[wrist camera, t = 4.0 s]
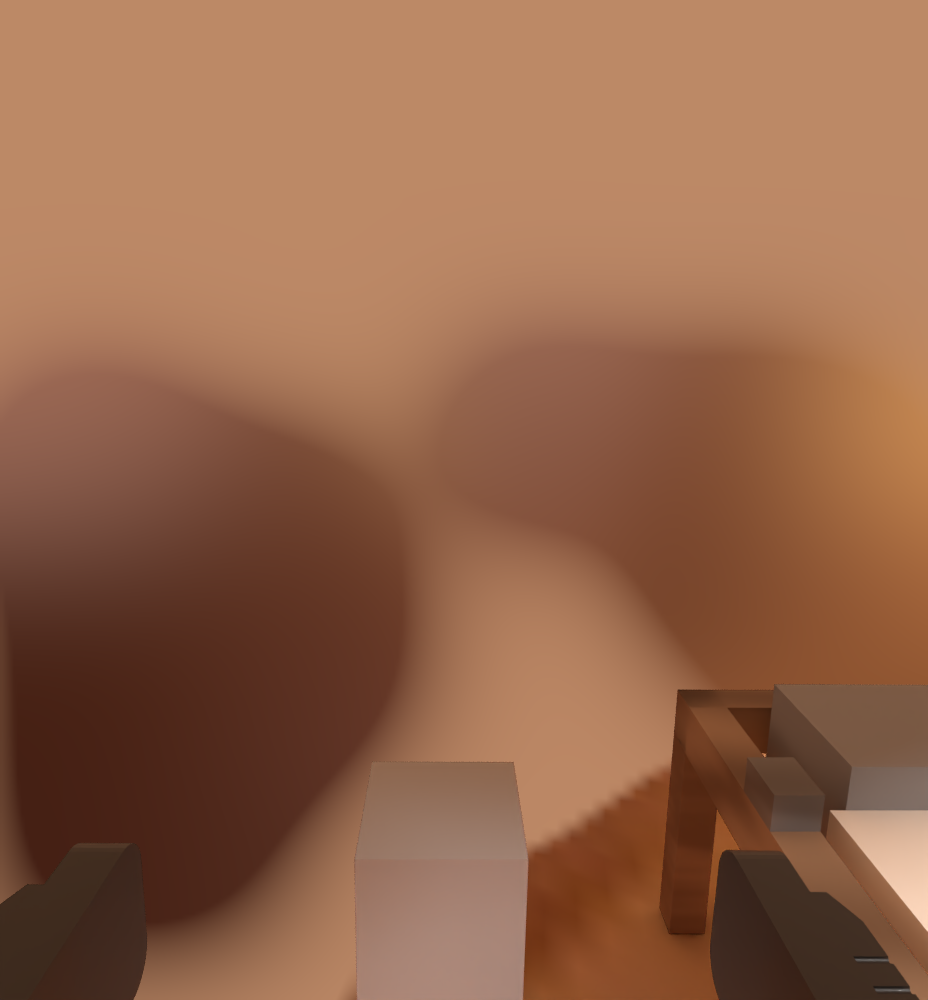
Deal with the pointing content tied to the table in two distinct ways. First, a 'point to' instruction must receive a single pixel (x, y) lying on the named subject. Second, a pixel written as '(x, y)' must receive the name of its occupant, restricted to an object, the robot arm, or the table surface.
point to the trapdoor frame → (751, 816)
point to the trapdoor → (867, 787)
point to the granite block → (441, 883)
